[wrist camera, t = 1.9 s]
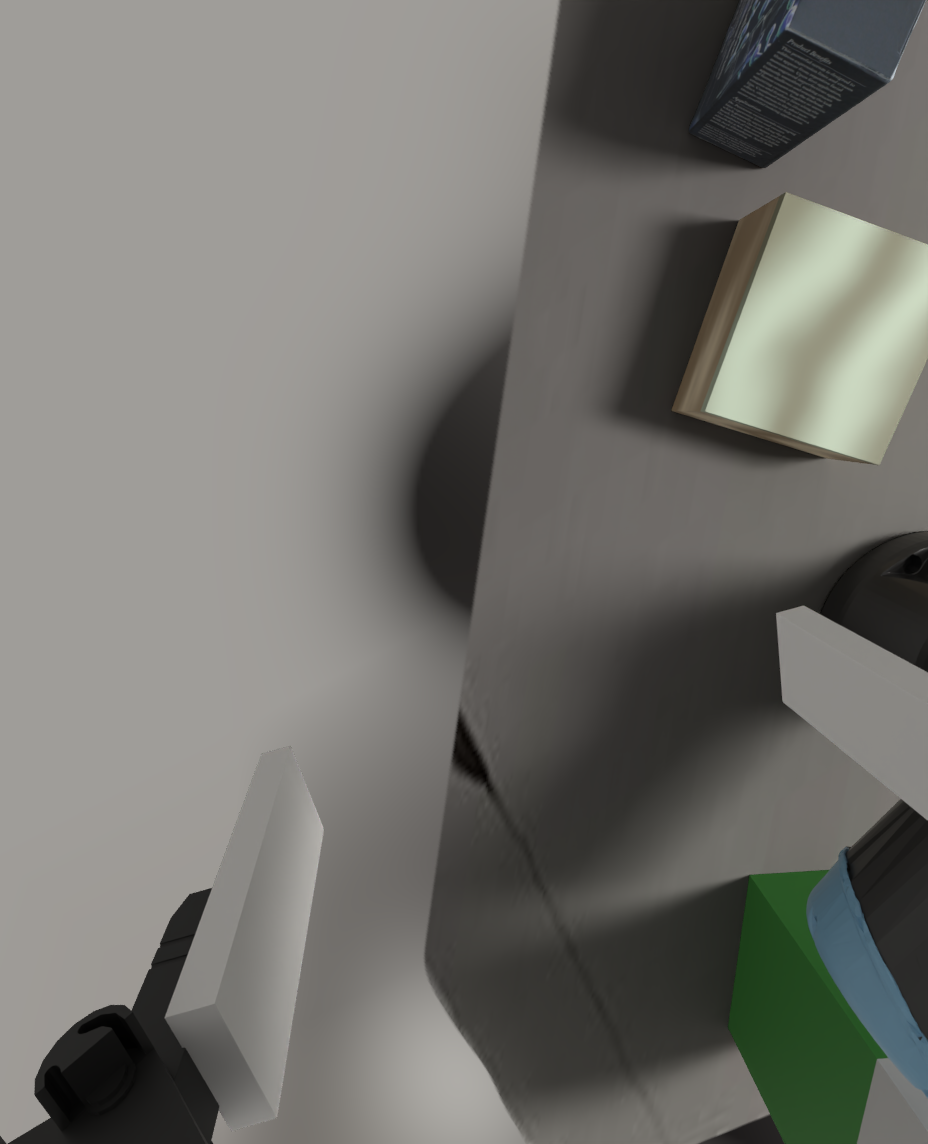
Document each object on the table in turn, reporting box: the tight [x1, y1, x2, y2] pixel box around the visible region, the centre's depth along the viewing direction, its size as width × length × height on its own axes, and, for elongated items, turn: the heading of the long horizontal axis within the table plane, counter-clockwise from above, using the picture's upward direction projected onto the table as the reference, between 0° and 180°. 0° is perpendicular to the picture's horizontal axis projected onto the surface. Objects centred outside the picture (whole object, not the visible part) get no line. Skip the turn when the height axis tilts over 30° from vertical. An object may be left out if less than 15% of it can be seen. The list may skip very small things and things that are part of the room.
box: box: [689, 0, 926, 168], centre depth 30 cm, size 8×6×11 cm
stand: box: [671, 192, 928, 465], centre depth 37 cm, size 12×12×5 cm
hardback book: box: [728, 870, 928, 1144], centre depth 42 cm, size 18×7×24 cm, turn 1°
